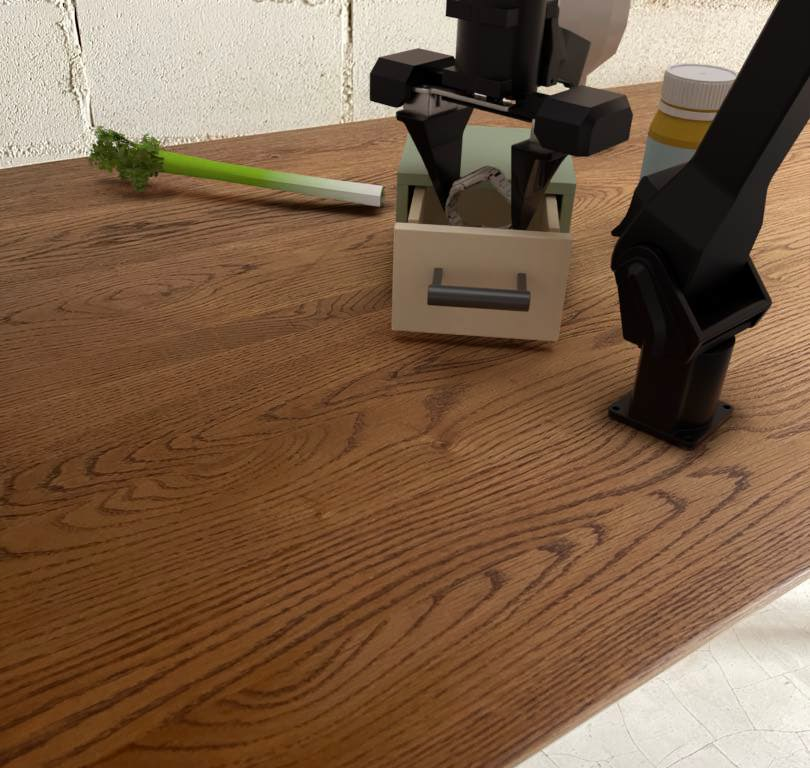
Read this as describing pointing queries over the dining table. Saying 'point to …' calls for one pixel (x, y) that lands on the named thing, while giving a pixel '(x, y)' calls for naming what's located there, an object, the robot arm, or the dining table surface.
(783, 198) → the dining table surface
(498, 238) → the drawer
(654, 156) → the bottle
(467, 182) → the wristwatch
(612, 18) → the wineglass
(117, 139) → the leek
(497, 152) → the cabinet
